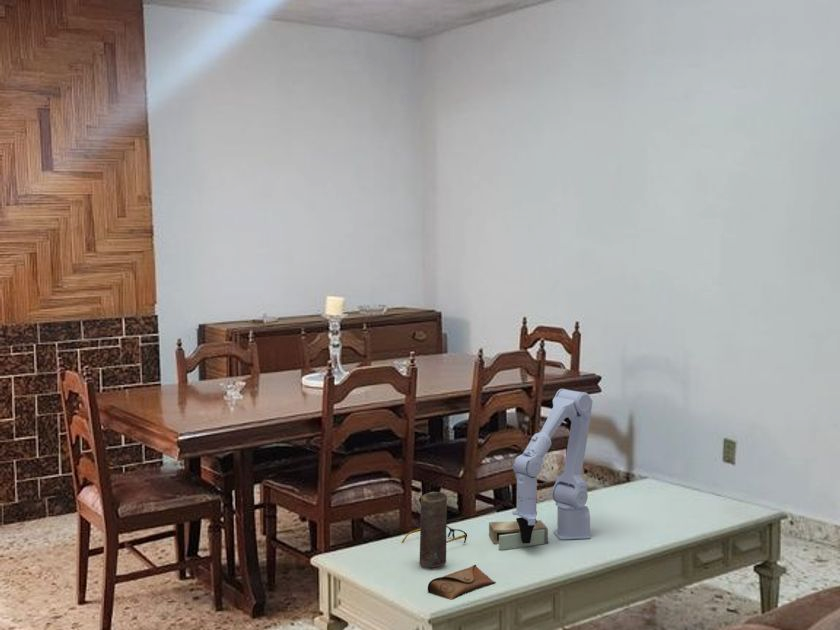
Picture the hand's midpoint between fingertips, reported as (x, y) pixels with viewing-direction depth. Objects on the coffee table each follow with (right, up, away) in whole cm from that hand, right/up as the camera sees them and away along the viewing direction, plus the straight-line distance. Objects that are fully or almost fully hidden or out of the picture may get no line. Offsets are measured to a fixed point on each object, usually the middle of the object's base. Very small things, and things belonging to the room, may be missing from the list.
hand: (525, 542), depth 285 cm
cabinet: (-1, -1, +9) cm, 9 cm away
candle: (-27, -3, -14) cm, 31 cm away
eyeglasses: (-26, -2, +5) cm, 27 cm away
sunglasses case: (-20, -5, -30) cm, 36 cm away
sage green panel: (0, -1, +2) cm, 2 cm away
